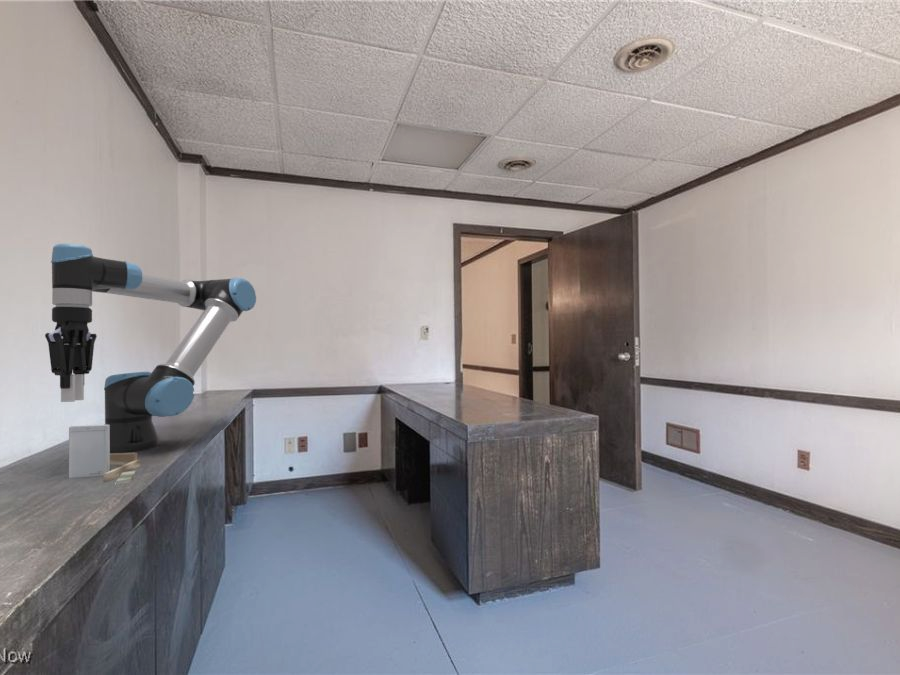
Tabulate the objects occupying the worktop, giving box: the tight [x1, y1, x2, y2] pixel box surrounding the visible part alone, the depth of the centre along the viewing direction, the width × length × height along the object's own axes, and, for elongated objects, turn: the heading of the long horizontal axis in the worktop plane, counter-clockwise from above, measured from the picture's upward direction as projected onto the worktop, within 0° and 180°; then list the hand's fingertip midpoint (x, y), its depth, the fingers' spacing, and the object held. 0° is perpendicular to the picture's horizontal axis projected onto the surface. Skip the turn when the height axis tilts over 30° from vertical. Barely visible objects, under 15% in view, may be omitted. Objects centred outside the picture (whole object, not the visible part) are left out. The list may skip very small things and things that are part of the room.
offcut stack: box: [114, 470, 137, 485], centre depth 102 cm, size 8×3×1 cm, turn 25°
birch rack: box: [103, 452, 142, 483], centre depth 107 cm, size 16×13×3 cm
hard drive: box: [68, 424, 111, 479], centre depth 105 cm, size 2×8×12 cm, turn 103°
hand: (72, 400), depth 106 cm, fingers open, 2 cm apart
